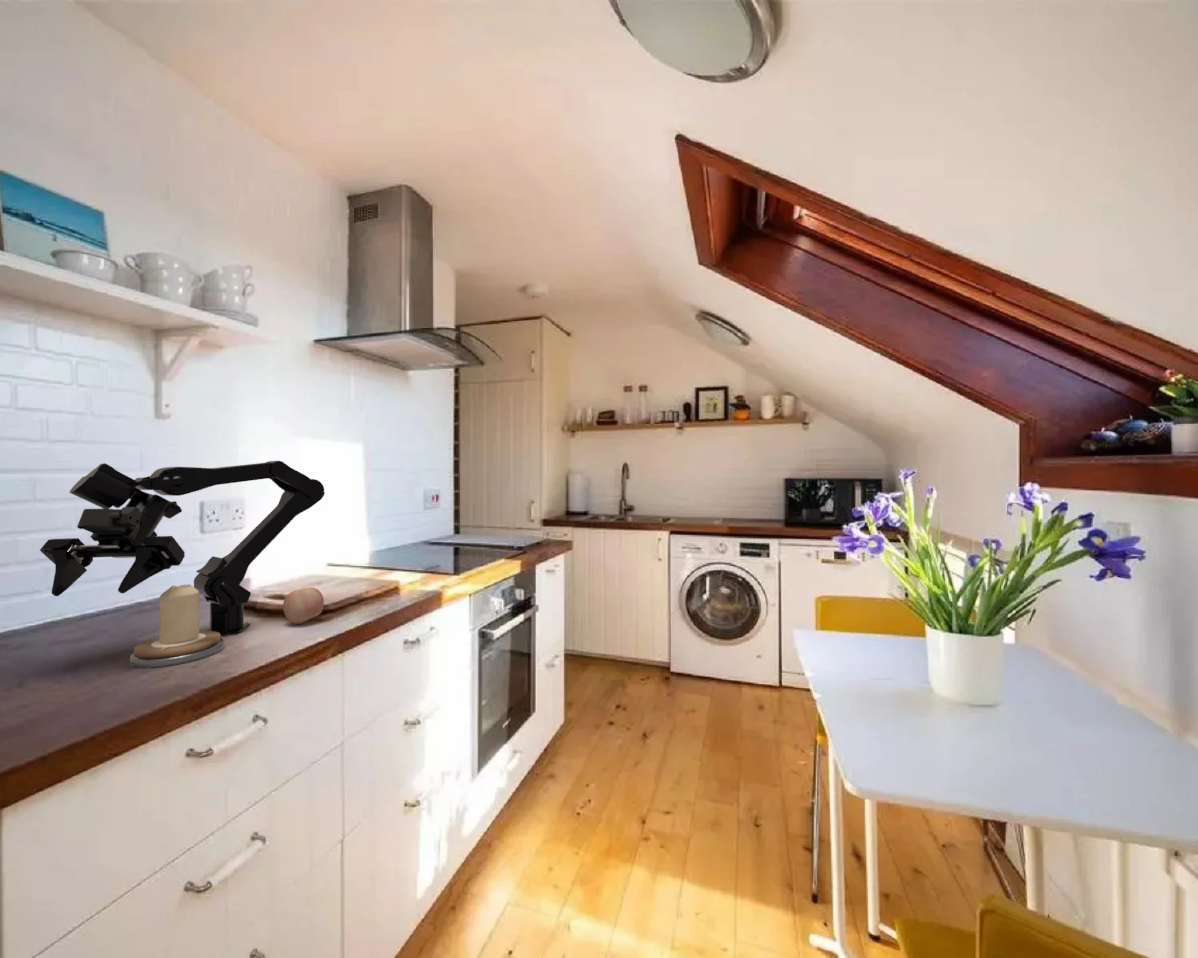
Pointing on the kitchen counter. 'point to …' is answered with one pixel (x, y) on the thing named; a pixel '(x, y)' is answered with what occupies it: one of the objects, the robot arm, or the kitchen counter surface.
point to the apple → (303, 605)
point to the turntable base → (176, 658)
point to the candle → (179, 614)
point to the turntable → (176, 646)
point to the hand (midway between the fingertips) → (87, 593)
